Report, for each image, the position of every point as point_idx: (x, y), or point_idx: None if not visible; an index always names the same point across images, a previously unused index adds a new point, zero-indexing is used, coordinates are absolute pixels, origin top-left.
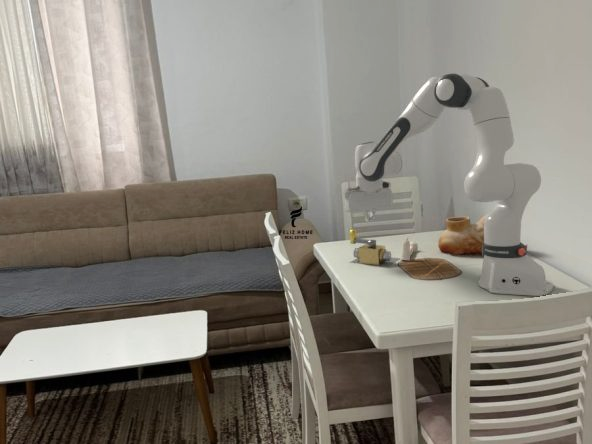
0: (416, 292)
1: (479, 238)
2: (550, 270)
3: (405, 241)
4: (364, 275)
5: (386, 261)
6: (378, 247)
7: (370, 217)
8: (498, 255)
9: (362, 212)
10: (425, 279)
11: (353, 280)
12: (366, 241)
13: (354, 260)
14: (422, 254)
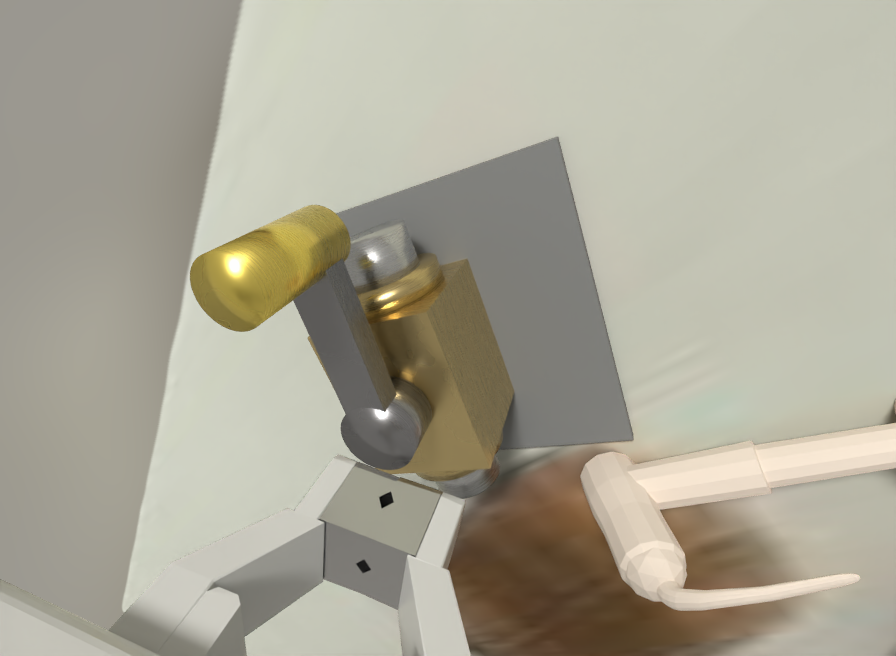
0: (314, 617)
1: None
2: None
3: (633, 588)
4: (278, 418)
5: (513, 399)
6: (420, 451)
7: (361, 576)
8: None
9: (171, 573)
10: None
11: (209, 417)
12: (345, 401)
13: (383, 210)
14: (861, 493)
